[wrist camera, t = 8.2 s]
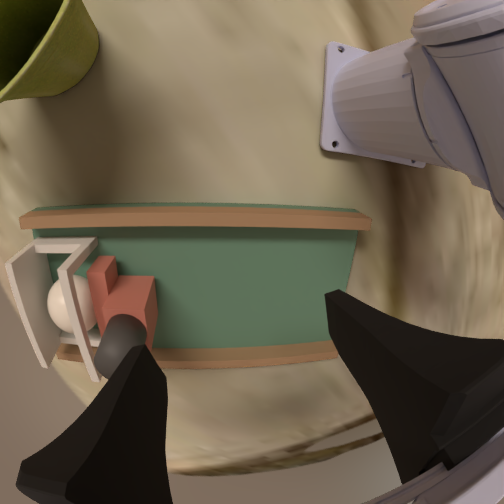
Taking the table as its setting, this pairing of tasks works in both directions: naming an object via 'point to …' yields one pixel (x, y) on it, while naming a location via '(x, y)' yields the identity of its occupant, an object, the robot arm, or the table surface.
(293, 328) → the pitch
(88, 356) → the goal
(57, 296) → the ball
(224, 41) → the table surface
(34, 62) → the plant pot
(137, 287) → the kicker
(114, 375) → the robot arm
